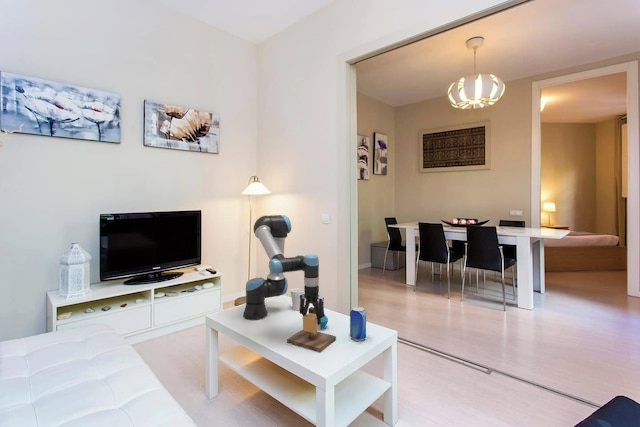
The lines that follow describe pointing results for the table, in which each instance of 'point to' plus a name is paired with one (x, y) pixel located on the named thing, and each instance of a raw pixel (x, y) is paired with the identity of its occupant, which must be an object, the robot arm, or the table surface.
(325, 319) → the perfume bottle
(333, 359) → the table surface
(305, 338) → the post board
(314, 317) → the wooden toy cube
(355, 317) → the beer can
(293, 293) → the foam cup
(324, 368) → the table surface
